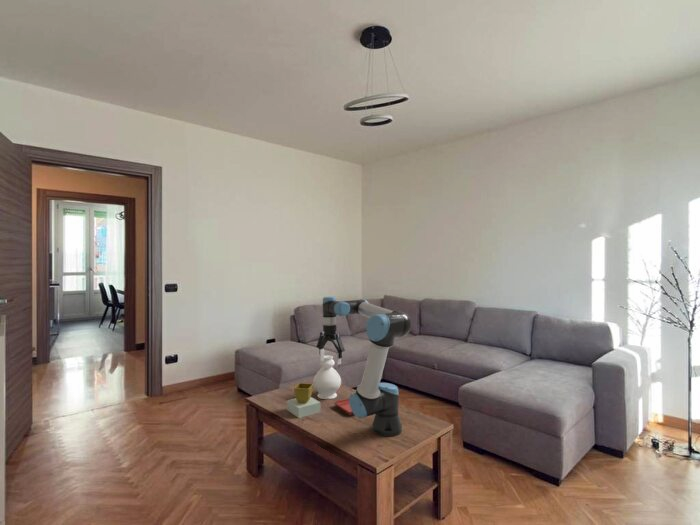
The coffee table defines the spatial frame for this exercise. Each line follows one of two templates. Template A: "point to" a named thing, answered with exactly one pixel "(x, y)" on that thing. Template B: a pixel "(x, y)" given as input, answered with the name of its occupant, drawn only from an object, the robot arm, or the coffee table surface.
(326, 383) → the decorative vase
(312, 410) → the sage block
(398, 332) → the robot arm
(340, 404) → the plant saucer
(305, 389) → the flower pot
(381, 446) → the coffee table surface
